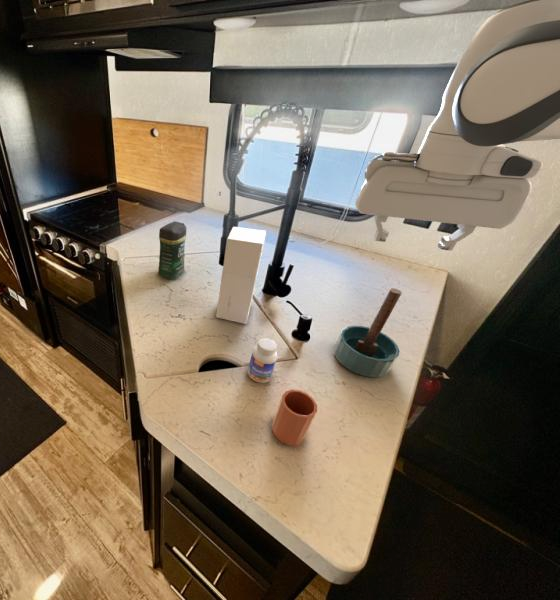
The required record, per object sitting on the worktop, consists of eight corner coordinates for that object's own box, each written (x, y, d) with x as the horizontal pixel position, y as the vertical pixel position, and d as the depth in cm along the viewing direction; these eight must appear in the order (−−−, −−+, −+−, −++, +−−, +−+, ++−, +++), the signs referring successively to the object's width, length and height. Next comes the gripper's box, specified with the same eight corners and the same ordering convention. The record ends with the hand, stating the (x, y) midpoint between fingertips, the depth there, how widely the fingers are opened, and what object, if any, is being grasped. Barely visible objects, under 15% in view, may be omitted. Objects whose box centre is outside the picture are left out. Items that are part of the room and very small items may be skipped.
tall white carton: (215, 317, 91) (226, 238, 77) (222, 301, 98) (232, 226, 84) (246, 324, 89) (263, 244, 74) (250, 307, 95) (266, 230, 81)
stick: (368, 356, 77) (405, 290, 66) (370, 363, 76) (408, 295, 64) (351, 352, 79) (384, 286, 67) (352, 358, 77) (386, 291, 65)
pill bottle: (247, 380, 72) (254, 350, 66) (247, 364, 76) (254, 334, 71) (271, 385, 71) (281, 355, 65) (270, 368, 75) (279, 338, 70)
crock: (303, 423, 63) (316, 394, 58) (303, 450, 58) (317, 422, 53) (273, 413, 65) (283, 385, 60) (270, 439, 60) (281, 411, 55)
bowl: (383, 349, 80) (393, 332, 77) (393, 384, 71) (405, 366, 68) (331, 338, 84) (339, 321, 81) (334, 370, 75) (343, 352, 71)
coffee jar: (174, 282, 107) (176, 232, 96) (155, 276, 111) (154, 226, 100) (187, 271, 114) (190, 222, 103) (169, 265, 117) (170, 217, 106)
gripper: (376, 154, 45) (344, 242, 53) (560, 165, 39) (493, 262, 47) (369, 148, 50) (341, 229, 58) (532, 156, 44) (476, 246, 52)
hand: (410, 244), depth 53 cm, fingers open, 8 cm apart
